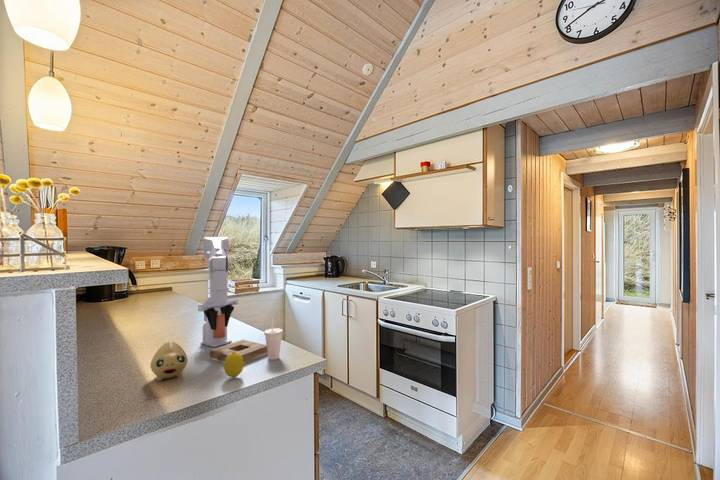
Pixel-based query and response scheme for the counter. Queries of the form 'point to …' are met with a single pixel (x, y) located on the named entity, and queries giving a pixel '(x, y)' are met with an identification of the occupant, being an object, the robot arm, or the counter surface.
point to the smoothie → (273, 342)
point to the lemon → (233, 364)
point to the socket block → (239, 351)
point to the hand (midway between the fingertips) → (219, 327)
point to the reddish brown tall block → (219, 326)
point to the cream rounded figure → (169, 361)
